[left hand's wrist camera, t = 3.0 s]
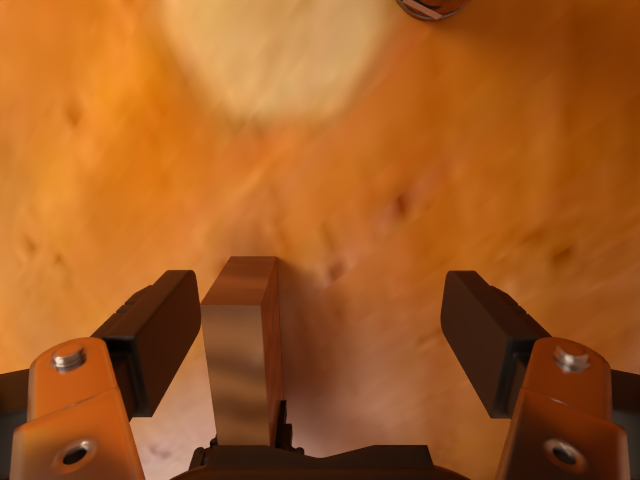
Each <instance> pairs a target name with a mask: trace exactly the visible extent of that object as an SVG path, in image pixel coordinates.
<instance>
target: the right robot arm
mask: <svg viewBox="0 0 640 480" xmlns="http://www.w3.org/2000/svg"><path fill="white" fill-rule="evenodd" d="M286 417H287V408H286V400H281V403H280V410H279V417H278V424H277V431H276V438H275V448H279V449H283V450H287V451H291V452H295V453H299V454H303V455H304V449H303V448H301V447H298V448H296V449H295V448H293V447H292V435H293V434H292V425H291V424H286ZM213 445H218V440H217V434H216V437H215V438H214V439H212V440H211V441H210V447H209V448H206V449H204V448H203V447H199V448H197V449H196V450H195V451H194V454H193V457H192V460H191V463H190V467H189V470H191V469H194V468H197V467H200V466H203V465H207V462H208V459H209V456H210V453H211V450H212V447H213ZM189 470H188V471H189Z"/></svg>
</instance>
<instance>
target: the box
mask: <svg viewBox="0 0 640 480" xmlns="http://www.w3.org/2000/svg"><path fill="white" fill-rule="evenodd" d="M200 309H201V322H202V329H203V337H204V344H205V352H206V359H207V366H208V374H209V381H210V388H211V396H212V403H213V411H214V418H215V425H216V433H217V440H218V445H267V446H271V447H275V438H276V431H277V424H278V417H279V410H280V403H281V400H283V384H282V363H281V341H280V319H279V298H278V276H277V257H230V259H229V260H228V262H227V263H226V265H225V266H224V268H223V269H222V271H221V273H220V274H219V276H218V277H217V279H216V280H215V282H214V283H213V285H212V286H211V288H210V290H209V291H208V293H207V294H206V296H205V297H204V299H203V300H202V302H201V304H200Z"/></svg>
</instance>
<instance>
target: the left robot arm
mask: <svg viewBox="0 0 640 480" xmlns="http://www.w3.org/2000/svg"><path fill="white" fill-rule="evenodd" d="M396 1H397V3H398V4H399V5H400V6H401V8H402V9H403V10H404V11H406V12H407V13H408V14H410V15H411V16H413V17H415V18H418V19H421V20H426V21H436V20H441V19H445V18H447V17H450V16H452V15H453V14H455V13H457V12H458V11H459V10H461V9H462V8H463V7H465V6H466V5H467V4H468V3H469V2H470V1H471V0H396ZM200 326H201V309H200V302H199V294H198V287H197V280H196V275H195V273H194V271H193V270H167V271H166V272H165V273H164V274H163V275H162V276H161V277H160V278H159V279H158V280H157V281H156V282H155V283H154V284H153V285H149V286H147V287H146V288H144V289H142V290H140V291H138V292H136V293H135V294H133V295H132V296H131V297H130V298H129V299H128V300H127V301H126V302H125V305H122V306H121V307H120V308H119V309H118V310H117V311H116V313H114V314H113V315H112V316H111V317H110V318H109V319H108V320H107V321H106V322H105V323H104V324H103V325H102V326H100V327H99V328H98V329H97V330H96V331H95V332H94V333H93V334H92V335H91V336H90V337H84V338H78V339H73V340H69V341H66V342H63V343H61V344H58V345H56V346H54V347H52V348H50V349H48V350H46V351H45V352H43V353H42V354H41V355H39V356H38V357H37V358H36V359H35V360H34V361H33V362H32V364H31V366H30V369H25V370H20V371H15V372H10V373H5V374H0V480H145V476H144V473H143V469H142V466H141V462H140V459H139V455H138V452H137V448H136V445H135V441H134V438H133V434H132V431H131V427H130V424H129V422H130V421H131V419H132V417H152V416H153V414H154V412H155V410H156V409H157V407H158V405H159V403H160V401H161V400H162V398H163V396H164V394H165V392H166V391H167V389H168V387H169V385H170V383H171V382H172V380H173V378H174V376H175V374H176V373H177V371H178V369H179V367H180V365H181V364H182V362H183V360H184V358H185V356H186V354H187V353H188V351H189V349H190V347H191V345H192V344H193V342H194V340H195V338H196V336H197V335H198V333H199V330H200ZM441 327H442V331H443V334H444V336H445V337H446V339H447V341H448V343H449V344H450V346H451V348H452V350H453V352H454V353H455V355H456V357H457V359H458V360H459V362H460V364H461V366H462V368H463V369H464V371H465V373H466V375H467V377H468V378H469V380H470V382H471V384H472V385H473V387H474V389H475V391H476V393H477V394H478V396H479V398H480V400H481V401H482V403H483V405H484V407H485V409H486V410H487V412H488V414H489V416H490V418H510V419H511V424H510V427H509V431H508V434H507V438H506V441H505V445H504V448H503V452H502V455H501V459H500V462H499V466H498V469H497V473H496V476H495V480H640V375H638V374H633V373H628V372H623V371H617V370H612V369H610V366H609V364H608V362H607V361H606V360H605V359H604V358H603V357H602V356H601V355H599V354H598V353H597V352H595V351H594V350H592V349H590V348H588V347H586V346H584V345H582V344H579V343H577V342H574V341H571V340H567V339H562V338H556V337H552V336H551V335H550V334H549V333H548V332H547V331H546V330H545V329H544V328H543V327H542V326H540V325H539V324H538V323H537V322H536V321H535V320H534V319H533V318H532V317H531V316H530V315H529V314H526V311H525V310H524V309H523V308H522V307H521V306H518V303H517V302H515V301H514V300H513V299H512V298H511V297H510V296H509V295H508V294H507V293H505V292H503V291H501V290H499V289H497V288H496V287H494V286H489V285H488V284H487V283H486V281H485V280H484V279H483V278H482V277H481V276H480V275H479V274H478V273H477V272H475V271H449V272H448V273H447V275H446V280H445V287H444V294H443V301H442V308H441ZM170 480H470V479H468V478H467V477H465V476H462V475H460V474H458V473H456V472H454V471H451V470H449V469H446V468H443V467H440V466H437V465H433V462H432V459H431V456H430V453H429V450H428V447H427V445H373V446H369V447H365V448H361V449H357V450H353V451H349V452H345V453H341V454H337V455H333V456H329V457H325V458H315V457H311V456H307V455H303V454H299V453H295V452H291V451H287V450H283V449H279V448H275V447H271V446H267V445H213V447H212V450H211V453H210V456H209V459H208V462H207V465H203V466H200V467H197V468H194V469H191V470H189V471H186V472H184V473H182V474H180V475H178V476H175V477H173V478H172V479H170Z"/></svg>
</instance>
